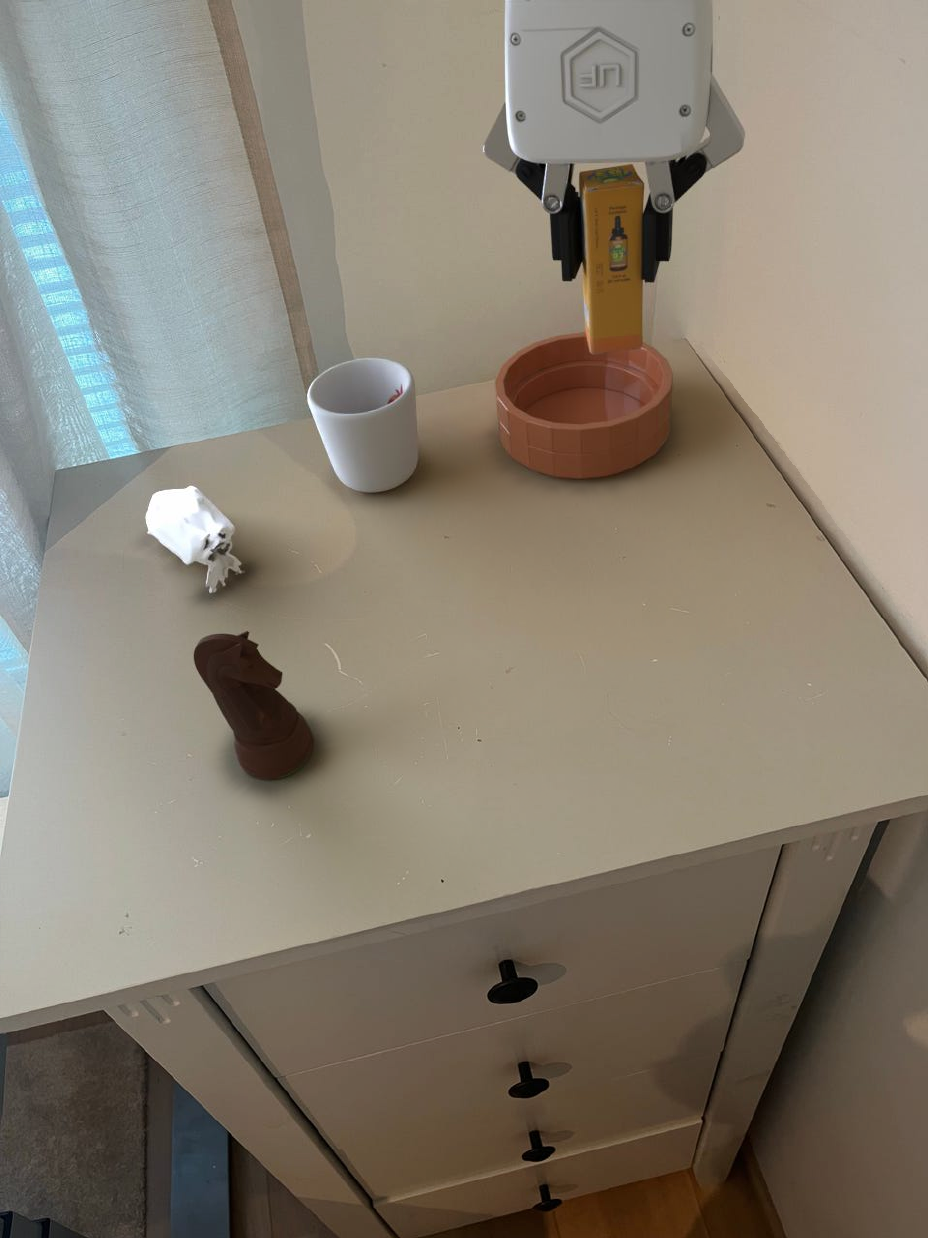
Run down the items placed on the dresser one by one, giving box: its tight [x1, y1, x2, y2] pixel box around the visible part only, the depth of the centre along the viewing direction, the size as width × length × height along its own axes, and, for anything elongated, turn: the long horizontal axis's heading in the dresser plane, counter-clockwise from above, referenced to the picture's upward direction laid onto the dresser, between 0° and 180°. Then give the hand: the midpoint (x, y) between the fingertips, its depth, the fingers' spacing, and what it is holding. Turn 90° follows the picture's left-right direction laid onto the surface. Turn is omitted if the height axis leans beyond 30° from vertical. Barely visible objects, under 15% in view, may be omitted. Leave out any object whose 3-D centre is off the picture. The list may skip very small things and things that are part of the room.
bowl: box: [494, 331, 674, 480], centre depth 75 cm, size 13×13×5 cm
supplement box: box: [578, 163, 645, 354], centre depth 56 cm, size 3×3×10 cm
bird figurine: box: [145, 485, 245, 594], centre depth 70 cm, size 5×7×10 cm
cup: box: [306, 357, 419, 494], centre depth 74 cm, size 11×8×8 cm
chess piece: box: [193, 630, 314, 781], centre depth 54 cm, size 5×5×10 cm
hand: (611, 268), depth 56 cm, fingers closed on supplement box, 4 cm apart
